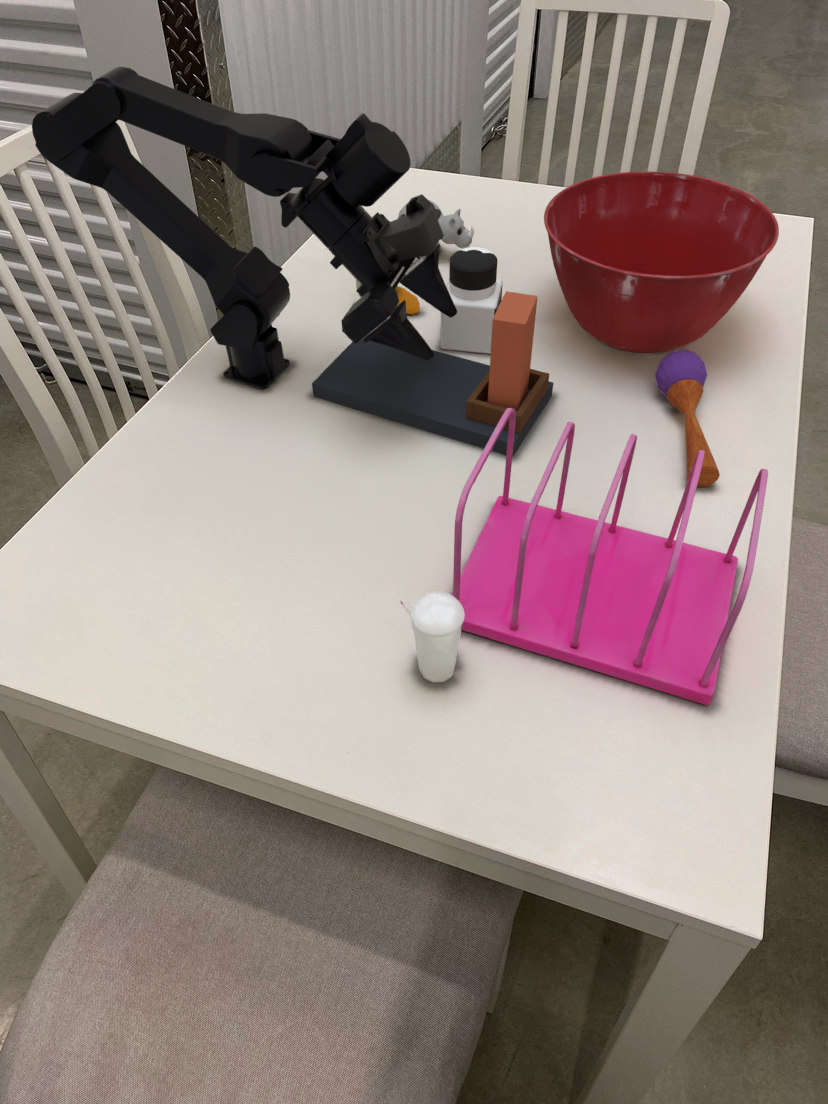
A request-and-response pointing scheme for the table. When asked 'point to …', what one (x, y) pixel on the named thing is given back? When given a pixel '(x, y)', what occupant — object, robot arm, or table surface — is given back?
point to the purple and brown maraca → (688, 405)
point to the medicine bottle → (471, 300)
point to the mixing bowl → (655, 255)
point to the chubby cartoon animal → (452, 228)
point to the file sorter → (602, 582)
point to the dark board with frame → (428, 393)
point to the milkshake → (436, 633)
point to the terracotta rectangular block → (511, 350)
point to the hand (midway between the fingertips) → (443, 335)
